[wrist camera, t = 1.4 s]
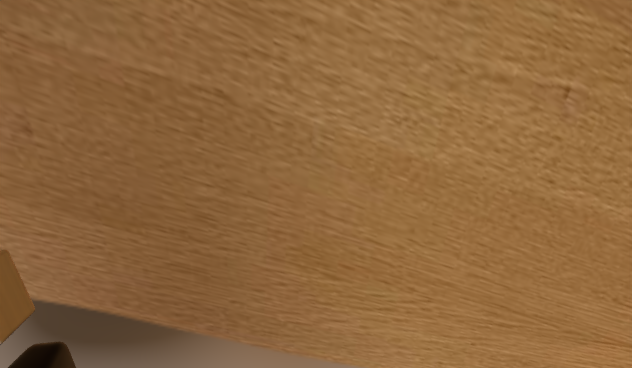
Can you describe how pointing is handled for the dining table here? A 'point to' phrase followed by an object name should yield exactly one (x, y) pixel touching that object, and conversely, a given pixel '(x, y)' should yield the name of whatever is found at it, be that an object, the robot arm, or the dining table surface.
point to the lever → (12, 297)
